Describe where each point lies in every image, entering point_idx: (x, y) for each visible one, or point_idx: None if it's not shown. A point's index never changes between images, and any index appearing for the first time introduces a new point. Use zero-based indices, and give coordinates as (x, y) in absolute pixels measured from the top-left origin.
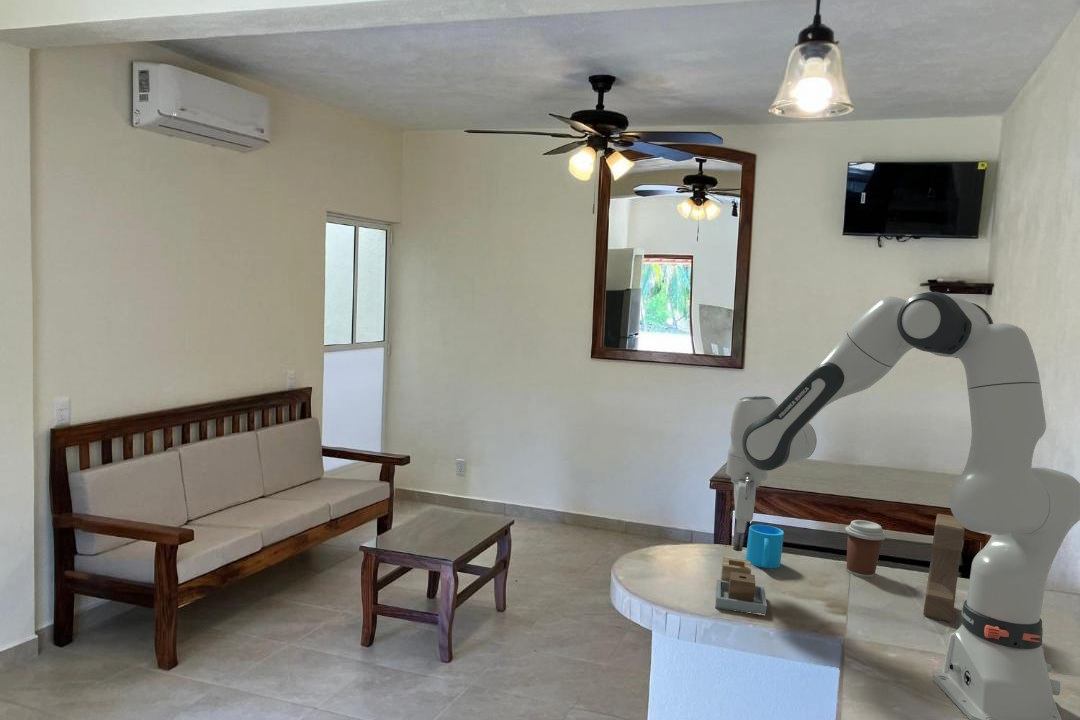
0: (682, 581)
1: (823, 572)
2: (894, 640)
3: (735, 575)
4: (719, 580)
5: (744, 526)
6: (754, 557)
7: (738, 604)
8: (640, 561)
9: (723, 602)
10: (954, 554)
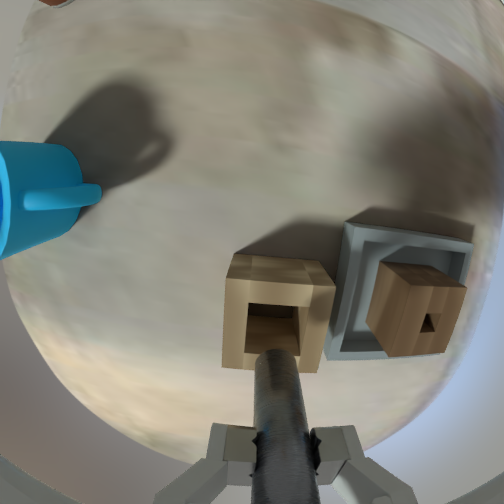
0: None
1: (79, 39)
2: (460, 9)
3: (419, 343)
4: (332, 354)
5: (362, 455)
6: (63, 222)
7: None
8: (195, 452)
9: None
10: None
